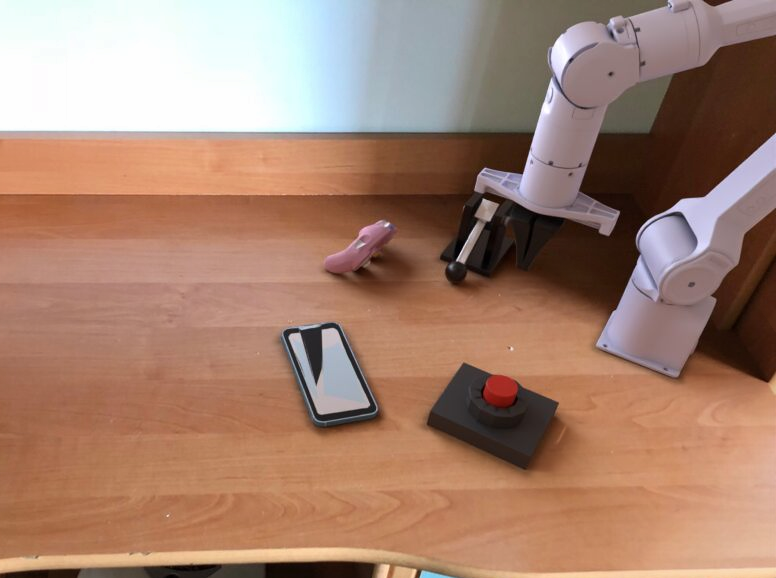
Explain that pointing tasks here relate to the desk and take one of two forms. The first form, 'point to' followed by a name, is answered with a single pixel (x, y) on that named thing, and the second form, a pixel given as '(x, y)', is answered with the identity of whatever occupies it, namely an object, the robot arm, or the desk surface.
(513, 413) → the button box
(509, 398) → the button
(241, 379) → the desk surface
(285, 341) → the smartphone
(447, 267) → the press lever
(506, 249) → the bracket
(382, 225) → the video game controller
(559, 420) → the desk surface
